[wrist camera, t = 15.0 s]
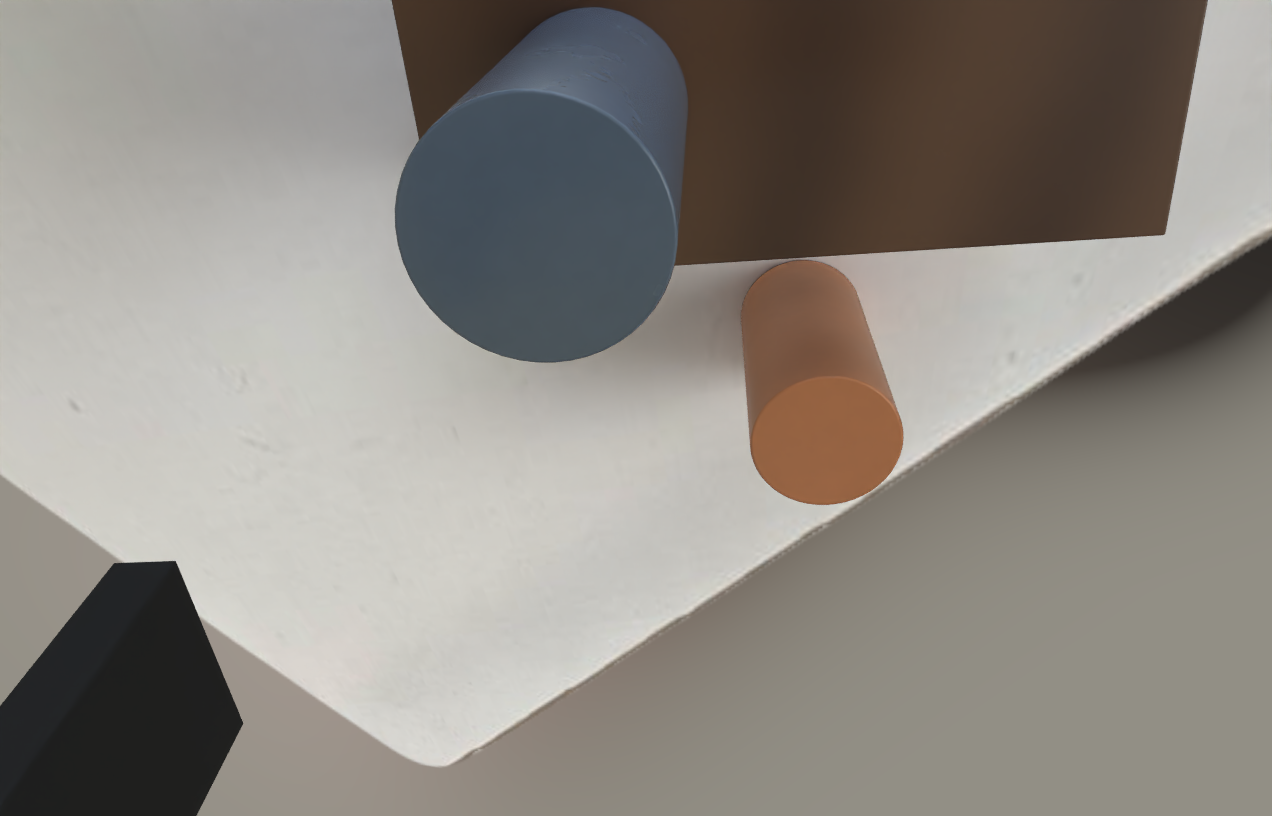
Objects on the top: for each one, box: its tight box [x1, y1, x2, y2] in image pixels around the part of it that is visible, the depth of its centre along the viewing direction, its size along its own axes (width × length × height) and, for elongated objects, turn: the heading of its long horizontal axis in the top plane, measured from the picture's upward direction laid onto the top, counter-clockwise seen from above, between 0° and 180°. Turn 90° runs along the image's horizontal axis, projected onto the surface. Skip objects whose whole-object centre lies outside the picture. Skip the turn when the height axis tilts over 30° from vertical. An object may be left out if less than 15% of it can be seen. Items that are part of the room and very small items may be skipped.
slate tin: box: [395, 7, 688, 362], centre depth 21 cm, size 5×5×10 cm
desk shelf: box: [392, 0, 1208, 266], centre depth 29 cm, size 20×9×11 cm, turn 95°
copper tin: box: [741, 260, 903, 505], centre depth 35 cm, size 5×5×10 cm
